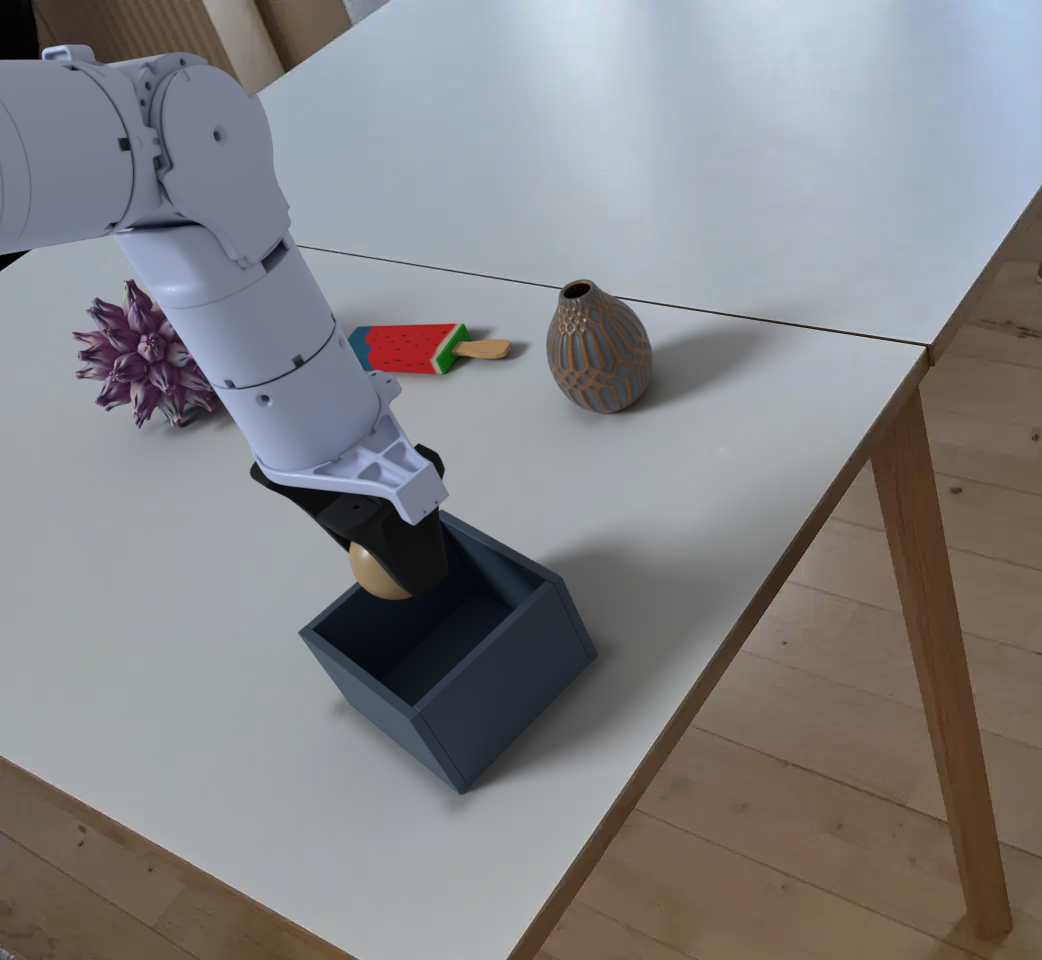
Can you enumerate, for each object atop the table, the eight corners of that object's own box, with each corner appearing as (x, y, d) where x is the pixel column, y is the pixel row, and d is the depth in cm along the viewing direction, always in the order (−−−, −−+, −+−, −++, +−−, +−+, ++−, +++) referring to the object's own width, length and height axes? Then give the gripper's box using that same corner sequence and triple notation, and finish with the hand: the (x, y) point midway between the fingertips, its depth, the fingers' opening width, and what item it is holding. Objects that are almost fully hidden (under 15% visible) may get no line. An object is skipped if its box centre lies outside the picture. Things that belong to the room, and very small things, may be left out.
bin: (460, 795, 55) (410, 721, 51) (349, 704, 62) (297, 632, 57) (598, 654, 59) (562, 576, 55) (481, 583, 66) (441, 508, 62)
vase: (676, 364, 77) (644, 257, 71) (641, 430, 72) (604, 322, 67) (589, 362, 80) (551, 259, 74) (550, 425, 75) (507, 321, 70)
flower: (269, 428, 88) (112, 478, 84) (237, 360, 96) (93, 402, 92) (227, 299, 80) (53, 347, 76) (196, 238, 89) (39, 278, 85)
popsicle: (491, 360, 81) (330, 357, 87) (498, 376, 82) (338, 372, 88) (517, 322, 84) (359, 323, 90) (523, 338, 84) (367, 337, 91)
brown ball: (405, 631, 53) (367, 570, 50) (355, 596, 56) (316, 537, 53) (471, 571, 55) (438, 509, 52) (420, 540, 58) (386, 480, 55)
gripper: (447, 331, 43) (555, 566, 51) (262, 260, 52) (381, 469, 61) (303, 442, 40) (444, 671, 48) (134, 346, 49) (278, 553, 58)
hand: (402, 565), depth 54 cm, fingers closed on brown ball, 4 cm apart
